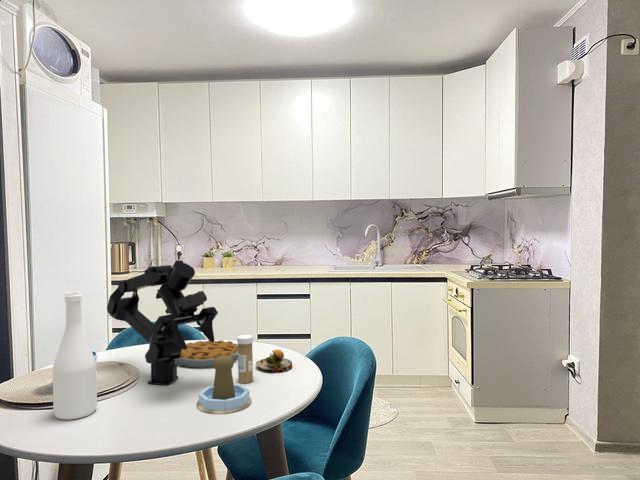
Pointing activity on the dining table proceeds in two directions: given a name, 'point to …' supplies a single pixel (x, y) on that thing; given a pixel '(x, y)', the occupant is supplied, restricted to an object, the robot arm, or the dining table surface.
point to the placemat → (223, 411)
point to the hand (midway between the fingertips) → (200, 345)
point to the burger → (275, 362)
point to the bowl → (227, 404)
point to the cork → (223, 378)
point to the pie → (206, 353)
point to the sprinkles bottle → (245, 358)
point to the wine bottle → (74, 367)
